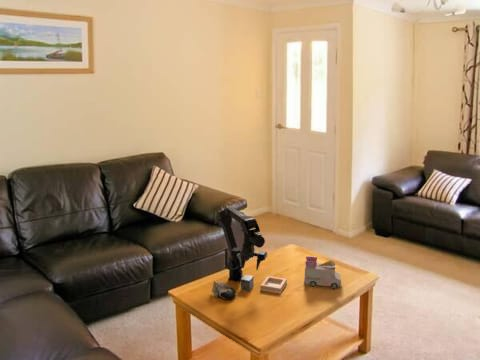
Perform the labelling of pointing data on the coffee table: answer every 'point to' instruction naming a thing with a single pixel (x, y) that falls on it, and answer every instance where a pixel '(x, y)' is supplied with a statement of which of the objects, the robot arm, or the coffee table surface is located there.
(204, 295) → the coffee table surface
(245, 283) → the grey metal box
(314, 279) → the toy vehicle
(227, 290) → the caster wheel
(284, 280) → the square tray
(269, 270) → the coffee table surface
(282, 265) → the coffee table surface
